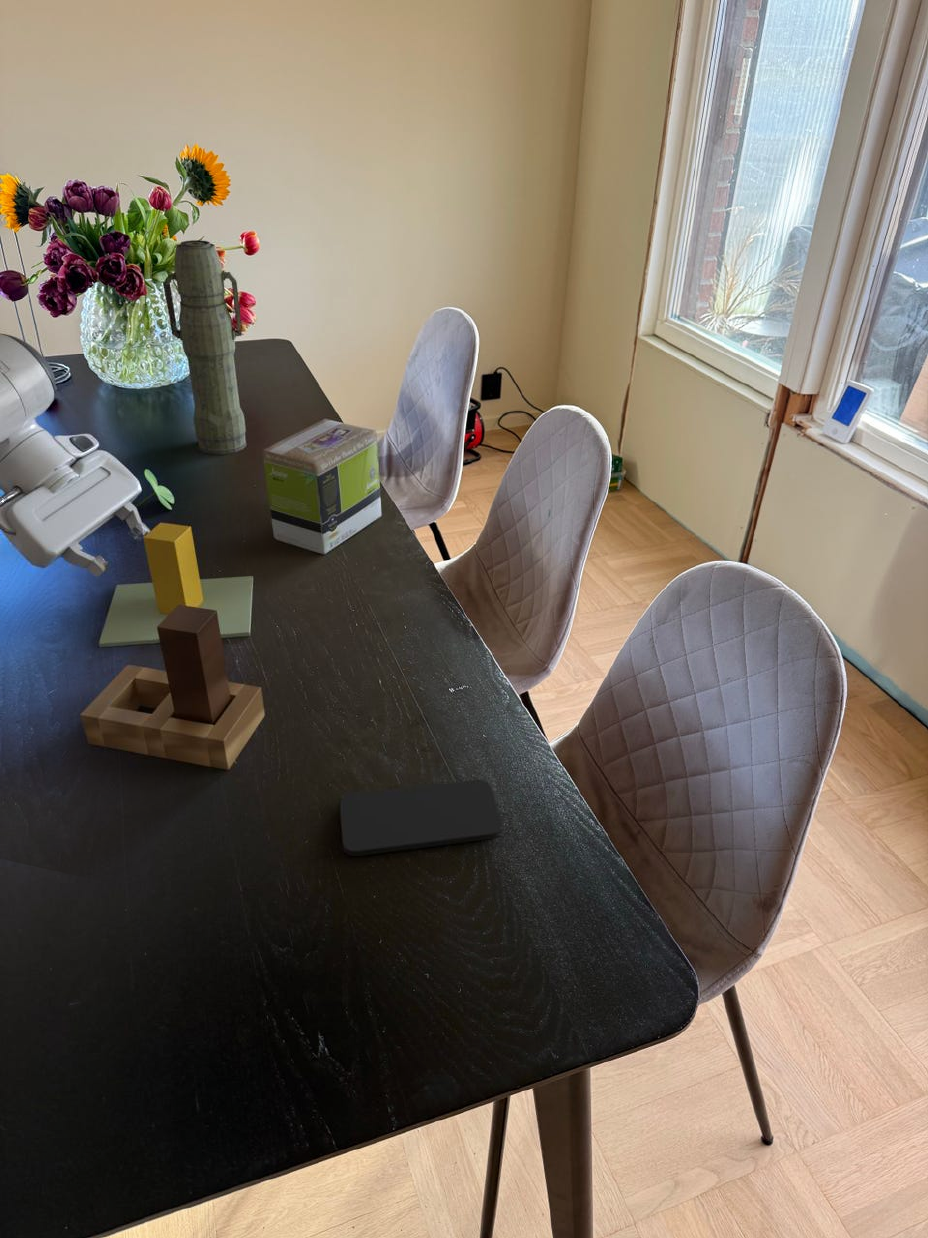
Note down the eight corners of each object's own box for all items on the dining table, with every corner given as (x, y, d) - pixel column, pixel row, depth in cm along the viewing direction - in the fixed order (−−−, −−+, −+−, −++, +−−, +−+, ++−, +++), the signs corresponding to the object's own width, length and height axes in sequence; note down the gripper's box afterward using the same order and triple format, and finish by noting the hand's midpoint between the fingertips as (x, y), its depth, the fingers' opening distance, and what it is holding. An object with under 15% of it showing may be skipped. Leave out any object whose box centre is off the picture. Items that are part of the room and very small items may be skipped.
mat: (99, 647, 104) (98, 643, 104) (117, 588, 116) (116, 584, 116) (250, 636, 107) (249, 632, 107) (253, 579, 119) (252, 575, 119)
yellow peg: (158, 612, 110) (142, 537, 104) (174, 596, 114) (160, 522, 108) (188, 617, 109) (174, 541, 103) (203, 600, 113) (191, 526, 107)
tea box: (332, 503, 140) (326, 415, 131) (382, 518, 136) (380, 428, 127) (271, 539, 129) (260, 447, 120) (324, 557, 125) (317, 462, 116)
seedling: (152, 534, 140) (184, 511, 139) (127, 525, 132) (161, 501, 131) (130, 498, 140) (162, 475, 140) (104, 488, 132) (138, 463, 132)
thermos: (187, 439, 161) (155, 238, 141) (251, 434, 164) (229, 236, 145) (190, 457, 154) (157, 248, 134) (257, 451, 157) (234, 246, 138)
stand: (88, 744, 90) (79, 714, 88) (134, 692, 97) (127, 664, 95) (228, 770, 87) (223, 741, 85) (265, 715, 95) (261, 687, 92)
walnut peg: (181, 744, 90) (156, 626, 82) (199, 719, 94) (178, 604, 86) (217, 751, 90) (196, 633, 81) (235, 725, 93) (216, 610, 85)
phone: (338, 795, 84) (488, 777, 86) (339, 801, 84) (488, 783, 86) (343, 853, 77) (504, 832, 80) (343, 859, 78) (504, 839, 80)
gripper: (-9, 492, 94) (89, 581, 98) (98, 429, 111) (178, 506, 115) (-33, 523, 98) (63, 608, 101) (75, 457, 114) (153, 532, 118)
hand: (125, 553), depth 108 cm, fingers open, 8 cm apart
